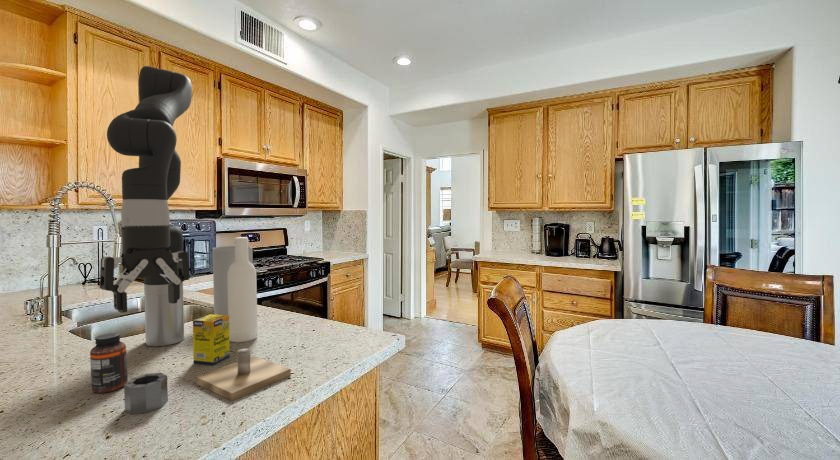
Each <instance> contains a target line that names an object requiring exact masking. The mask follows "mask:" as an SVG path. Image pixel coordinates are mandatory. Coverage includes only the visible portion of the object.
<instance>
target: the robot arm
mask: <svg viewBox="0 0 840 460" xmlns="http://www.w3.org/2000/svg"><path fill="white" fill-rule="evenodd" d="M137 82H138V104H137V105H136V106H135V108H134V109H131V110H129V111H125V112H123V113H121V114H118V115H117V116H116V117H114V118H113V119H112V120H111V121H110V123H109V124H108V127H107V130H106V139H107V141H108V145H109V146H110V147H111V148H112V150H113V151H115V152H116V153H117V154H119V155H123V156H127V157H129V156H130V157H138V167H133V168H128V169H125V170H124V171H123V172H122V174H121V194H122V195H121V199H122V200H121V201H122V203H121V211H120V212H121V213H120V216H121V217H120V218H121V219H120V221H121V249H122V253H121V255H120V256H115V257H114V256H113V257H111V256H102V257H101V258H100V266H99V268H100V270H99V288H100V290H102V291H103V290H104V291H108V292H112V293H113V307H114V309H115V310H116V311H117V312H118V313H121V314H124V313H128V295H127V294H128V293H127V292H126V290H127V289H128V288H129V286H130V285H131V283H133V282H134V281H135V280H136V278H143V290H144V291H143V294H144V295H143V296H144V297H143V298H144V319H145V320H144V324H145V325H144V326H145V329H144V330H145V331H144V333H145V345H146V346H147V347H164V346H170V345H174V344H177V343H180V342H182V341H183V340H185V320H184V319H185V315H184V314H185V311H184V310H185V308H184V307H185V306H184V282H185V281H189V280H190V278H191V275H190V272H191V271H190V263H189V253H188V252H187V251H184V235H183V231H182V229H181V227H180V226H176V225H175V226H173V225H172V226H171V225H170V224H171V217H170V210H169V209H170V208H169V204H168V203H169V202H168V200H170V198H171V197H172V196H173V195H174V193H175V192H176V191H177V190H178V188H179V186H180V183H181V173H182V172H181V171H182V169H181V168H182V161H181V158H180V156H179V155H180V154H179V153H178V151H177V150H176V145H177V133H176V131H175V129H174V127H173V126H174V123H175V121H176V120H177V119H178V118H179V117H181V116H182V115H183V114H184V113H185V112H186V111H188V109H189V108H190V106H191V103H192V99H193V97H192V96H193V85H192V82H191V79H190V78H189V77H188V76H187V75H185V74H183V73H179V72H176V71H172V70H167V69H163V68H160V67H159V68H158V67H155V66H154V67H153V66H150V65H149V66H148V65H144V66H143V67H141V69H140V71H139V74H138V81H137ZM119 264H121V265H122V266H123V267H124V271H122V273H121V274H120V275H119V277H118V279H117V281H116V282H115V283H114V279H115V278H114V277H115V269H117V268H118V267H119Z"/></svg>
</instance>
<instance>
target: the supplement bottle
mask: <svg viewBox="0 0 840 460" xmlns="http://www.w3.org/2000/svg"><path fill="white" fill-rule="evenodd" d="M94 339H95V345H94V347H92V348H91V350H90V351H89V355H90V356H89V357H90V358H89V361H90V377H91V378H90V379H91V382H90V383H91V391H92V392H93V393H95V394H96V393H97V394H103V393H104V394H105V393H111V392H114V391H116V390H120V389H121V388H123V387H124V384H125V383H126V382H128V381H129V379H128V377H129V375H128V357H127V356H128V355H127V346H126V344H125V342H122V341H120V340H121V335H120V333H118V332H109V333H103V334H100V335H97V336H96V337H95V338H94Z"/></svg>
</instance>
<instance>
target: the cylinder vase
mask: <svg viewBox="0 0 840 460" xmlns="http://www.w3.org/2000/svg"><path fill="white" fill-rule="evenodd" d="M248 259H249V262H250V263H252V264H253V265H254V261H253V259H254V258H253V246H250V245H248ZM234 262H235V245H231V246H230V245H229V246H228V245H227V246H216V247H212V269H213V270H212V275H213V276H212V277H213V280H212V281H213V314H216V315H228V279H227V273H228V270H229V267H230V266H231V265H232V264H233V263H234Z"/></svg>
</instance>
